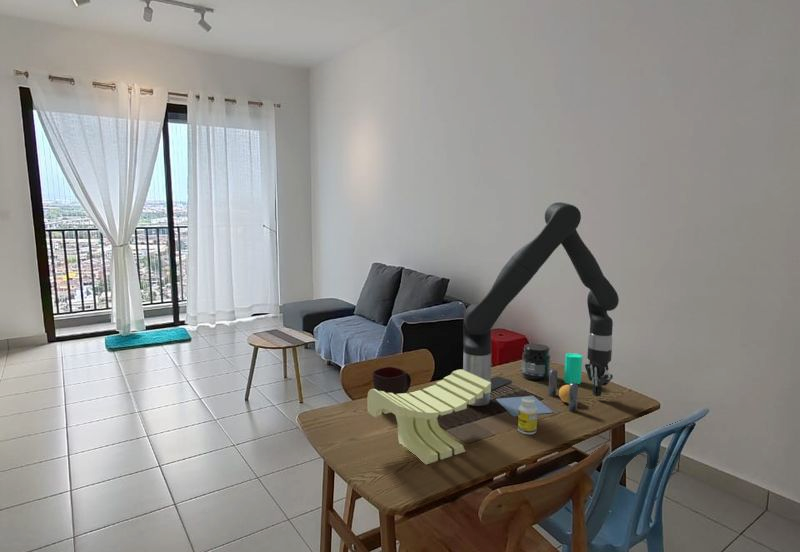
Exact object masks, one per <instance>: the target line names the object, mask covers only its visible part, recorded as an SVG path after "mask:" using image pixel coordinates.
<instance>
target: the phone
mask: <svg viewBox="0 0 800 552" xmlns="http://www.w3.org/2000/svg"><path fill="white" fill-rule="evenodd" d="M490 382H491V392H493V391H495V390H498V389H500V388H501V387H504V386H507V385H510V384H511V383H513V380H511V379H508V378H505V377H502V376H494V377H491V380H490Z"/></svg>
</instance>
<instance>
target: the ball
mask: <svg viewBox="0 0 800 552" xmlns="http://www.w3.org/2000/svg"><path fill="white" fill-rule="evenodd" d="M569 388H570V384H565V385H562V386H561V387H560V388H559V391H558V396H559V399H560V400H561V401H562V402H564V403H566V404H569Z"/></svg>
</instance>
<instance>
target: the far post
mask: <svg viewBox="0 0 800 552" xmlns="http://www.w3.org/2000/svg"><path fill="white" fill-rule="evenodd" d="M557 383H558V370H557V369H554V368H553V369H551V368H550V373H549V378H548V397H553V398H554V397H555V398H556V397H557V389H558V388H557V387H558V385H557Z"/></svg>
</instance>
